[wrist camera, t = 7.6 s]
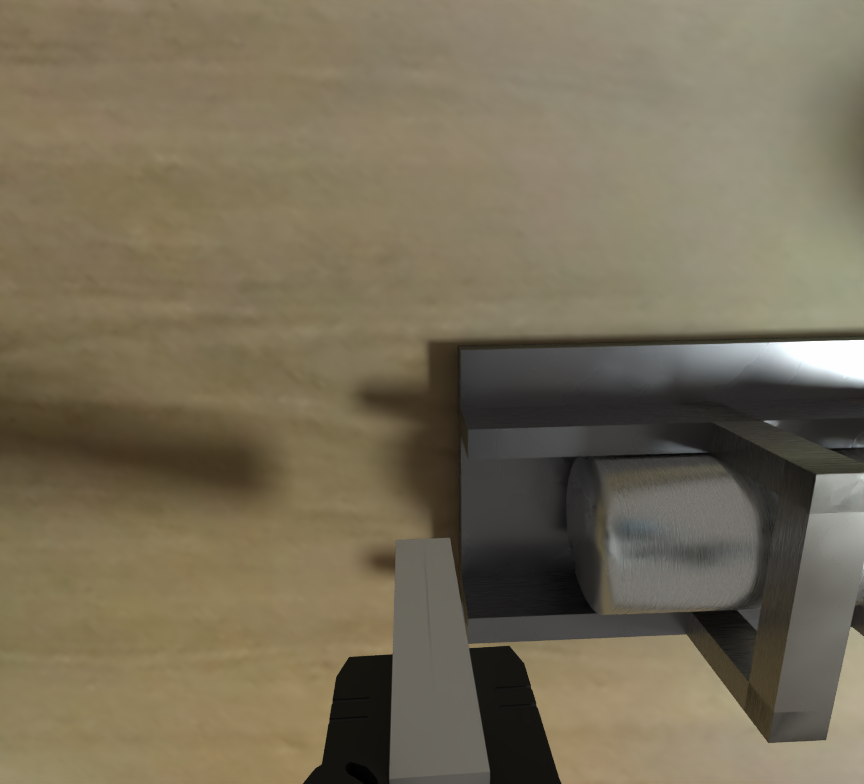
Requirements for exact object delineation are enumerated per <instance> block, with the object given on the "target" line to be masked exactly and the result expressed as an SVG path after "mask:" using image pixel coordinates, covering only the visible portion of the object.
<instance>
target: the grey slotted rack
mask: <svg viewBox="0 0 864 784" xmlns="http://www.w3.org/2000/svg"><path fill="white" fill-rule="evenodd" d="M458 420H459V565H460V600H461V606H462V611H463V617H464V623H465V629H466V635H467V640H468V644H472V643H495V642H519V641H542V640H565V639H589V638H612V637H635V636H658V635H682V634H687V635H688V637H689V638H690V639H691V641H692V642H693V643H694V645H695V646H696V647H697V649H698V650H699V651H700V653H701V654H702V655H703V657H704V658H705V659H706V661H707V662H708V663H709V665H710V666H711V667H712V669H713V670H714V671H715V673H716V674H717V675H718V677H719V678H720V679H721V681H722V682H723V683H724V685H725V686H726V687H727V689H728V690H729V691H730V693H731V694H732V695H733V697H734V698H735V699H736V701H737V702H738V703H739V705H740V706H741V707H742V709H743V710H744V711H745V713H746V714H747V715H748V717H749V718H750V719H751V721H752V722H753V723H754V725H755V726H756V727H757V729H758V730H759V731H760V732H761V734H762V735H763V736H764V738H765V739H766V740H767V742H768V743H776V742H796V741H816V740H826V737H827V733H828V728H829V723H830V719H831V714H832V709H833V705H834V700H835V695H836V691H837V686H838V681H839V677H840V672H841V667H842V663H843V658H844V654H845V649H846V644H847V640H848V635H849V630H850V627H853V628H854V629H855V630H857V631H858V632H859V633H860V634H862V635H863V636H864V605H855V602H856V598H857V593H858V588H859V584H860V579H861V574H862V570H863V565H864V464H862V463H860V462H857V461H855V460H853V459H850V458H848V457H846V456H843V455H841V454H839V453H836V452H834V451H832V450H829V448H861V447H864V336H846V337H806V338H765V339H725V340H684V341H644V342H603V343H563V344H522V345H482V346H458ZM703 452H709V453H711V454H712V455H714V456H716V457H717V458H719V459H721V460H722V461H724V462H725V463H727V464H729V465H730V466H732V467H734V468H735V469H737V470H739V471H740V472H742V473H743V474H745V475H747V476H748V477H750V478H752V479H753V480H755V481H757V482H758V483H760V484H761V485H763V486H765V487H766V488H768V489H770V490H771V491H773V492H774V493H776V494H778V495H779V499H778V505H777V511H776V518H775V524H774V530H773V536H772V542H771V548H770V555H769V561H768V567H767V573H766V579H765V585H764V592H763V598H762V604H761V609H746V610H720V611H694V612H668V613H642V614H616V615H600V614H598V613H597V612H595V611H594V610H593V609H592V608H591V606H590V605H589V604H588V602H587V600H586V598H585V597H584V595H583V592H582V590H581V588H580V585H579V582H578V579H577V576H576V573H575V569H574V566H573V561H572V557H571V552H570V546H569V540H568V531H567V518H566V496H567V486H568V479H569V475H570V471H571V468H572V465H573V463H574V461H575V460H576V459H577V457H579V456H609V455H640V454H672V453H703Z"/></svg>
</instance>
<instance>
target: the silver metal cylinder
mask: <svg viewBox="0 0 864 784" xmlns="http://www.w3.org/2000/svg"><path fill="white" fill-rule="evenodd" d="M829 450H832V451H834V452H836V453H839V454H841V455H843V456H846V457H848V458H850V459H853V460H855V461H857V462H860V463H862V464H864V447H861V448H829ZM778 499H779V495H778V494H776V493H774V492H773V491H771V490H770V489H768V488H766V487H765V486H763V485H761V484H760V483H758V482H757V481H755V480H753V479H752V478H750V477H748V476H747V475H745V474H743V473H742V472H740V471H739V470H737V469H735V468H734V467H732V466H730V465H729V464H727V463H725V462H724V461H722V460H721V459H719V458H717V457H716V456H714V455H712V454H711V453H709V452H703V453H672V454H640V455H609V456H579V457H577V459H576V460H575V461H574V463H573V465H572V468H571V471H570V475H569V479H568V486H567V496H566V518H567V531H568V540H569V546H570V552H571V557H572V561H573V566H574V569H575V573H576V576H577V579H578V582H579V585H580V588H581V590H582V592H583V595H584V597H585V598H586V600H587V602H588V604H589V605H590V606H591V608H592V609H593V610H594V611H595V612H597V613H598V614H600V615H616V614H642V613H668V612H694V611H720V610H746V609H761V604H762V598H763V592H764V585H765V579H766V573H767V567H768V561H769V555H770V548H771V542H772V536H773V530H774V524H775V518H776V511H777V505H778ZM855 605H864V565H863V570H862V574H861V579H860V584H859V588H858V593H857V598H856V602H855Z"/></svg>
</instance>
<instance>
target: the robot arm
mask: <svg viewBox="0 0 864 784" xmlns="http://www.w3.org/2000/svg"><path fill="white" fill-rule="evenodd" d="M303 784H561V782H560V779H559V776H558V773H557V770H556V766H555V763H554V760H553V757H552V753H551V750H550V747H549V744H548V740H547V737H546V734H545V730H544V727H543V724H542V721H541V717H540V714H539V711H538V708H537V706H536V701H535V698H534V694H533V691H532V689H531V684H530V681H529V678H528V675H527V671H526V668H525V665H524V663H523V662H522V660H521V659H520V658H519V657H518V656H517V655H516V653H515V652H514V651H513V650H512V649H511V647H510V646H499V647H482V648H469V646H468V640H467V635H466V629H465V623H464V617H463V611H462V606H461V600H460V594H459V588H458V582H457V576H456V571H455V565H454V559H453V553H452V547H451V541H450V538H432V539H411V540H396V559H395V594H394V629H393V654H392V655H375V656H358V657H349V658H348V660H347V661H346V663H345V664H344V666H343V667H342V669H341V671H340V672H339V674H338V675H337V677H336V682H335V689H334V695H333V704H332V707H331V713H330V722H329V725H328V731H327V737H326V743H325V749H324V755H323V761H322V765H320V766H319V767H317V768H316V769H315V770H314V771H313V772H312V773H311V774H310V776H309V777H308V778H307V779H306V781H305V782H304V783H303Z"/></svg>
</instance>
